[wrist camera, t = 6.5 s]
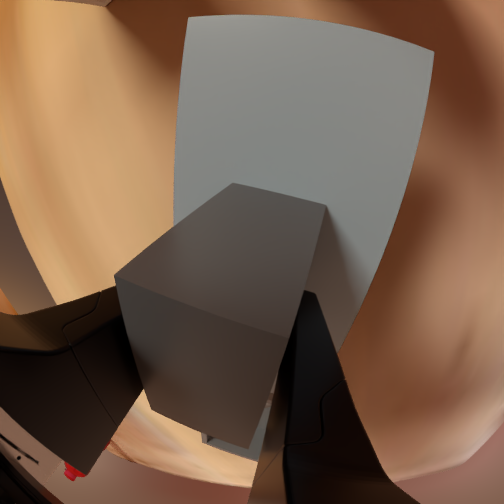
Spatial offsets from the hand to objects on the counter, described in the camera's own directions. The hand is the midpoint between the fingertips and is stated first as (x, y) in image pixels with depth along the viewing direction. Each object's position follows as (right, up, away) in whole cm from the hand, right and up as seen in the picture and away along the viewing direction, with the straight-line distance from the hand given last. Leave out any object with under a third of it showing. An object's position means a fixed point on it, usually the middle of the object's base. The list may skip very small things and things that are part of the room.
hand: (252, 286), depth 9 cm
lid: (+1, +1, +2) cm, 3 cm away
